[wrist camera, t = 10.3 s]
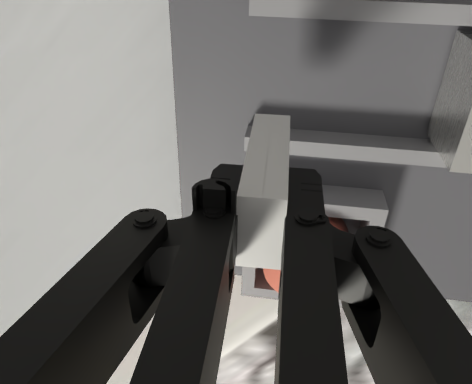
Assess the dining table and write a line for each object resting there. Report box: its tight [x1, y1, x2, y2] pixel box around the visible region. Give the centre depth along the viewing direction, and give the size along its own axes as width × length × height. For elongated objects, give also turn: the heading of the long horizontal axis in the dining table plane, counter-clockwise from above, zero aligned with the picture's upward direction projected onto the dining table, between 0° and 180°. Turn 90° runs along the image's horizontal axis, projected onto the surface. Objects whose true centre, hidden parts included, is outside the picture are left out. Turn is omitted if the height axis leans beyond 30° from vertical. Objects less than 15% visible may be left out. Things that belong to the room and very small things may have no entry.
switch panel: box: [169, 0, 472, 307], centre depth 20 cm, size 24×28×6 cm
